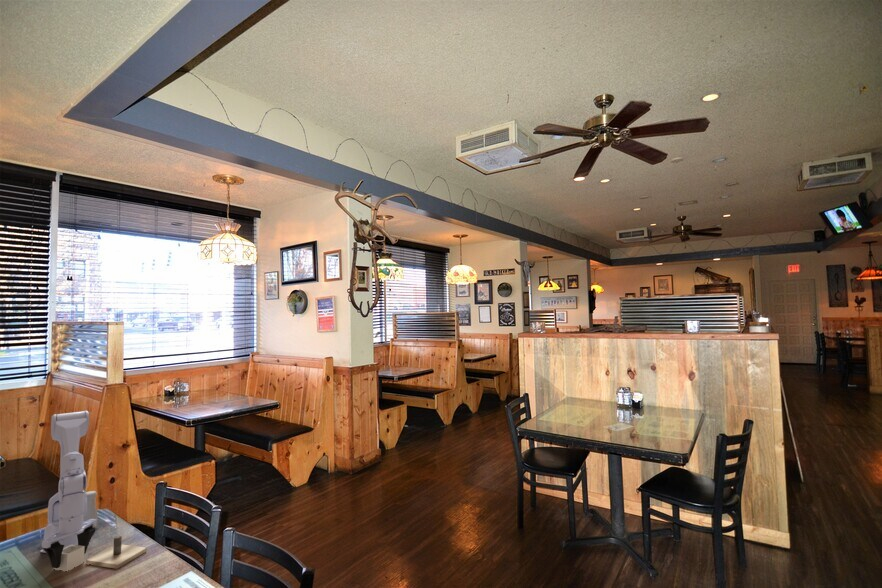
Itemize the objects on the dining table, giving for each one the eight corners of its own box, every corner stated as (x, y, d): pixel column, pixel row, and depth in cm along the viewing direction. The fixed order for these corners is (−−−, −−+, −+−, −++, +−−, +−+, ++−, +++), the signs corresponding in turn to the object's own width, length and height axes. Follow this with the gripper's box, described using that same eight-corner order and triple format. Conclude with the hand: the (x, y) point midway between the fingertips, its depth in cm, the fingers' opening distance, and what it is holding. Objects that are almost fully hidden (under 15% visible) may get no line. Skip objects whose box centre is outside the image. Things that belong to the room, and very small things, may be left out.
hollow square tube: (53, 569, 131) (54, 552, 131) (71, 560, 136) (71, 544, 136) (66, 571, 130) (67, 554, 130) (83, 562, 135) (84, 546, 135)
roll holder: (86, 564, 134) (86, 543, 134) (116, 547, 144) (117, 528, 144) (117, 568, 131) (118, 547, 132) (146, 551, 141) (147, 532, 142)
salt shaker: (86, 533, 153) (87, 496, 154) (73, 532, 154) (74, 494, 155) (102, 526, 159) (103, 489, 159) (89, 524, 160) (91, 488, 160)
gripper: (56, 527, 126) (53, 575, 125) (104, 506, 140) (102, 549, 139) (37, 524, 127) (35, 572, 127) (87, 504, 142) (85, 547, 141)
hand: (69, 560), depth 133 cm, fingers open, 7 cm apart
